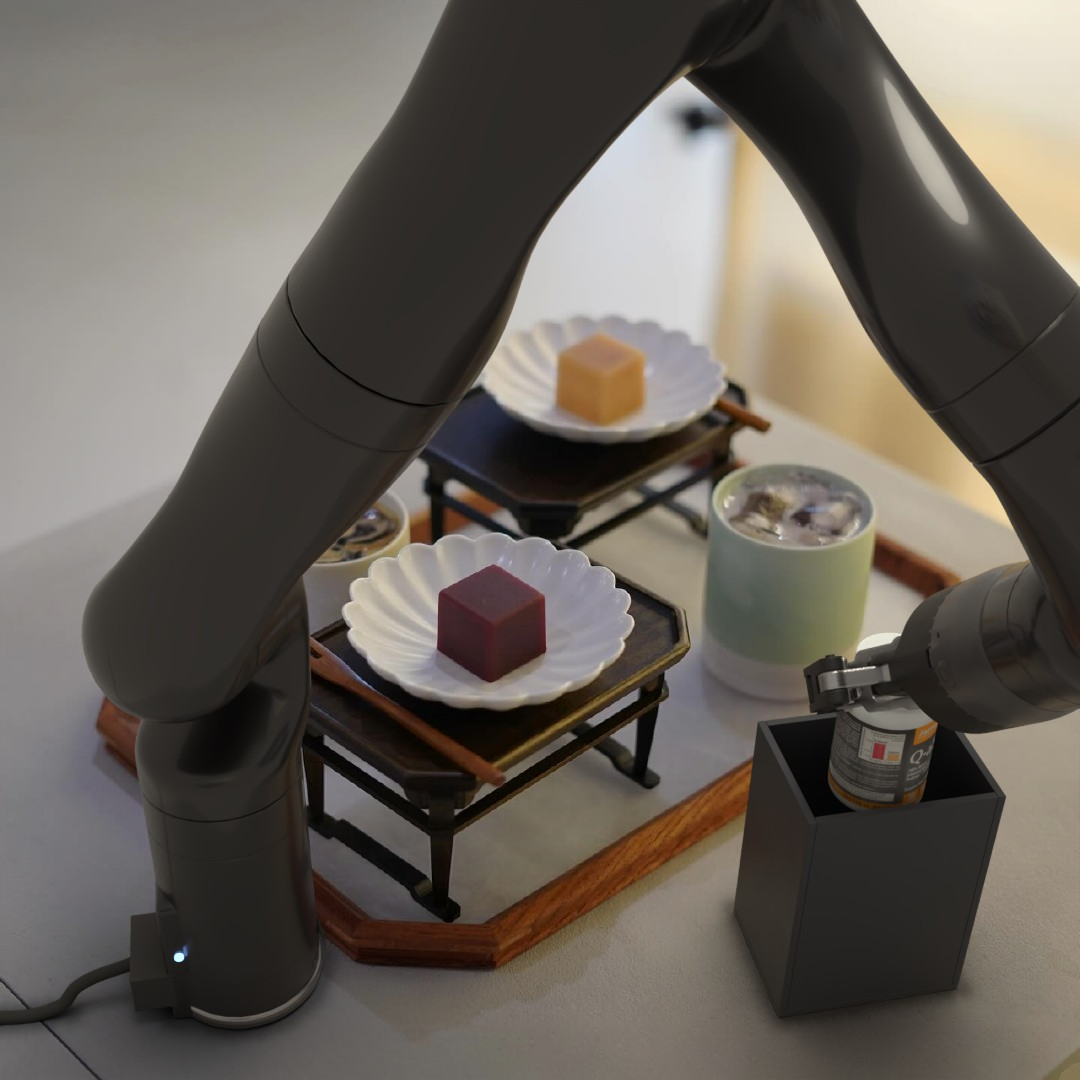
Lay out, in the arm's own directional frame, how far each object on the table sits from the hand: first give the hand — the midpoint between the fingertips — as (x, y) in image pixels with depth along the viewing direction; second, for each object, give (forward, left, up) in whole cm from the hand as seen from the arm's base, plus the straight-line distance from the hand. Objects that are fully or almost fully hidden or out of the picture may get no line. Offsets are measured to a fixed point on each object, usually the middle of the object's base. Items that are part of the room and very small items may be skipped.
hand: (877, 688), depth 89 cm
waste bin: (0, -2, -20) cm, 21 cm away
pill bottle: (0, -2, -6) cm, 7 cm away
